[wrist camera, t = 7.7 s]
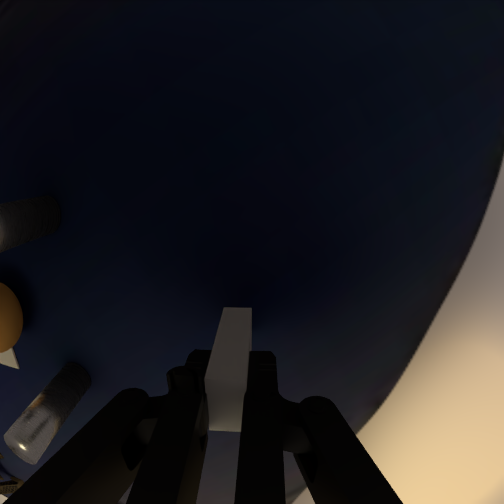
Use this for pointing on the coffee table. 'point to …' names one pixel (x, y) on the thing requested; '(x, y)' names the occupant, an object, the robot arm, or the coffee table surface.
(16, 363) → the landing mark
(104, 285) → the coffee table surface
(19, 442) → the post
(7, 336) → the ball
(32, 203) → the post
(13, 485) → the eiffel tower
